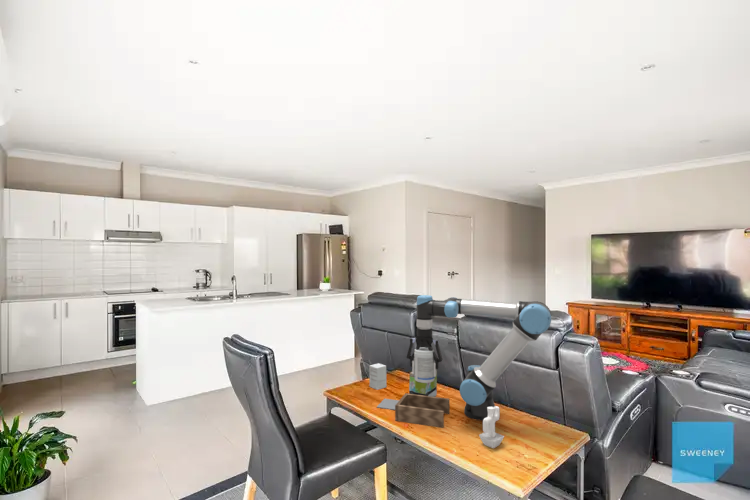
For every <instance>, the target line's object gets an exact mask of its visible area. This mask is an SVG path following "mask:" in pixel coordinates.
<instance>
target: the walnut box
mask: <svg viewBox="0 0 750 500" xmlns="http://www.w3.org/2000/svg"><path fill="white" fill-rule="evenodd" d="M398 400H399V401H398V403H397V404H396V405H395V410H394V415H395V416H394V419H395V421H396V422H403V423H408V424H415V425H423V426H429V427H434V428H435V427H436V428H440V429H443V428H444V426H445V425H444V415H450V412H451V411H450V409H451V407H450V398H447V397H439V396H435V397H432V396H424V395H416V394H409V393H404V394H403V395H402V397H400V399H398Z"/></svg>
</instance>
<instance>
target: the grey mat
mask: <svg viewBox="0 0 750 500" xmlns="http://www.w3.org/2000/svg"><path fill="white" fill-rule="evenodd" d="M399 400H400V399H391V398H384V399H382V400H381V402H380V403H379V404H378V405H377V406H376V408H377V409H384V410H385V409H386V410H389V411H390V410H391V411H395V405H396V404H397V403H398V401H399Z"/></svg>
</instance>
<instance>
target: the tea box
mask: <svg viewBox="0 0 750 500" xmlns="http://www.w3.org/2000/svg"><path fill="white" fill-rule="evenodd" d="M437 381H438V369H436V377H435V379H434V381H433V382H430V383H421V382H417V381H416V380H415V376H414V374H412V371H411V372H409V385H408V387H409V388H408V390H409V393H408V394H416V395H424V396H432V397H437V393H438V391H437V390H438V388H437V387H438V385H437V384H438V382H437Z"/></svg>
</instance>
